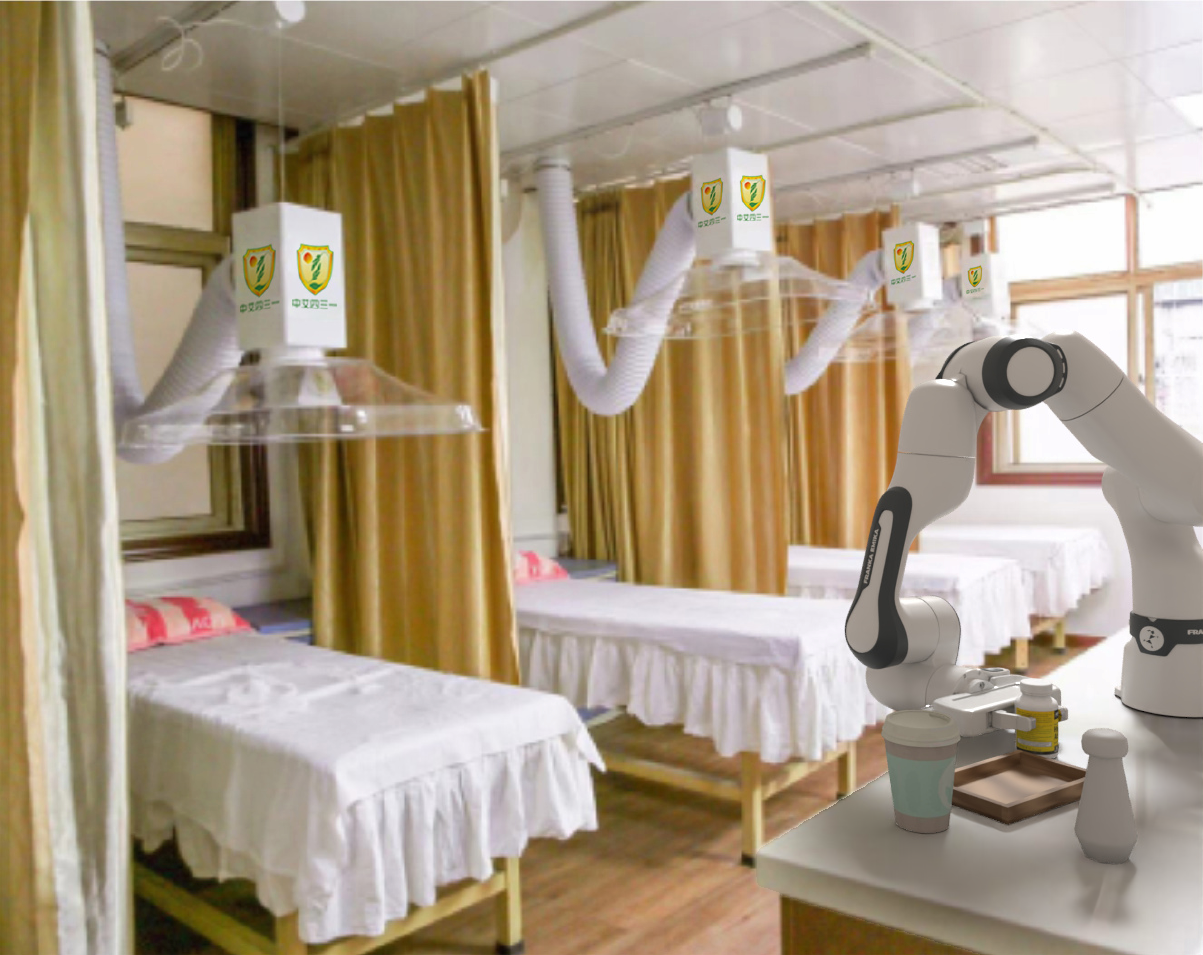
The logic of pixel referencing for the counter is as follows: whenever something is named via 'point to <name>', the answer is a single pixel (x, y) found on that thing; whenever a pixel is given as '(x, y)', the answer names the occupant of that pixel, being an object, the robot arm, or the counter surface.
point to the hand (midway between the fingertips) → (1049, 719)
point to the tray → (1016, 786)
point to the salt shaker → (1105, 799)
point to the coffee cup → (921, 767)
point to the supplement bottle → (1038, 718)
